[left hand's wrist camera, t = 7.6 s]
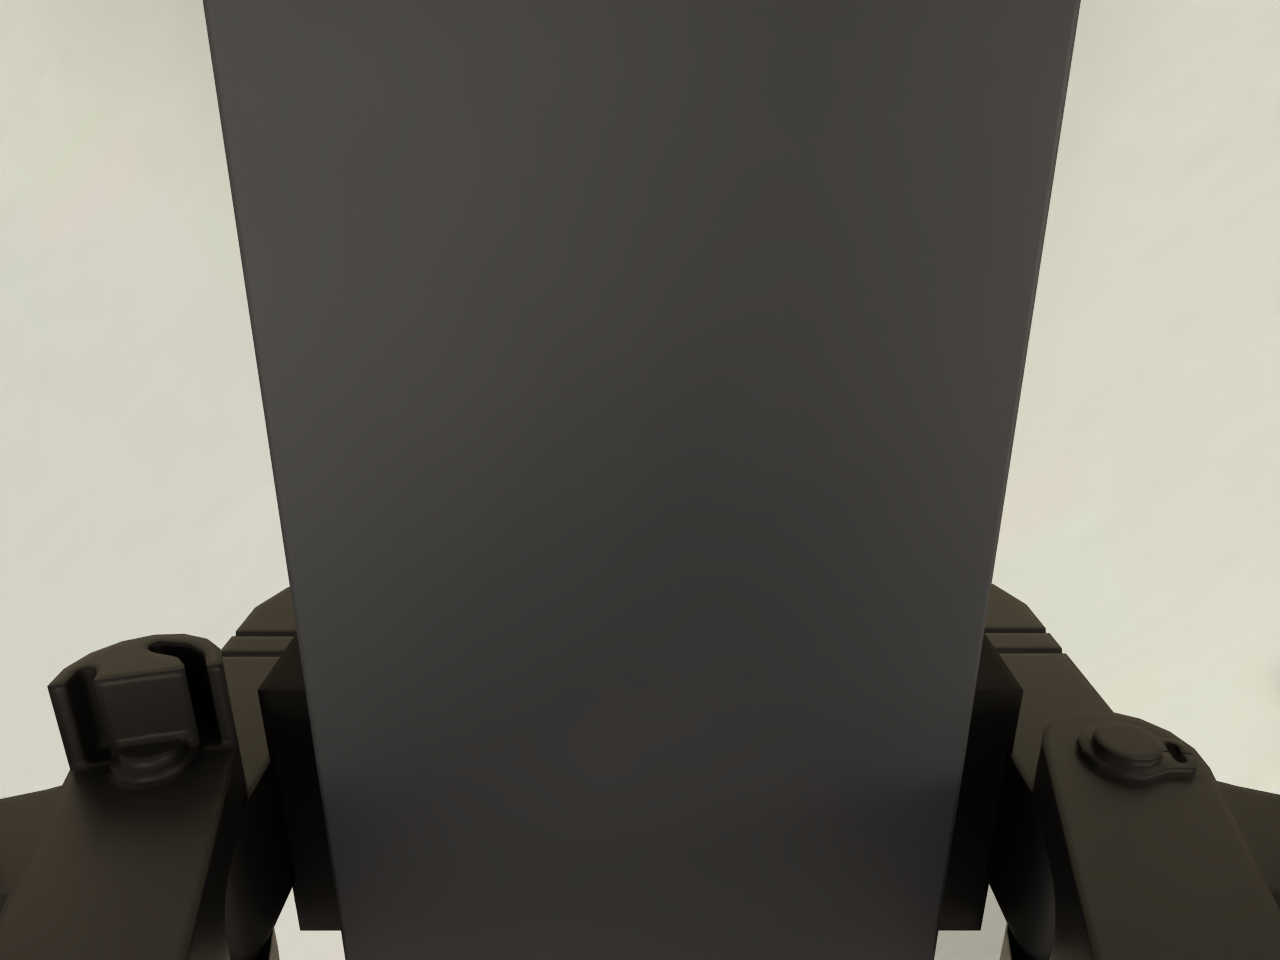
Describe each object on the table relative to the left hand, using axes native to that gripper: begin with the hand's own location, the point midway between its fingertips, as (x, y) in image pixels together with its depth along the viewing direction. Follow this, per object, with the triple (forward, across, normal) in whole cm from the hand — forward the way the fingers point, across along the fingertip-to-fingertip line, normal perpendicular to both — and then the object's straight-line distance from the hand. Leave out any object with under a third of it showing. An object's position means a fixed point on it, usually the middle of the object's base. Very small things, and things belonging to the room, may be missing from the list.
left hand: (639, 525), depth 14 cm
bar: (0, 0, -33) cm, 33 cm away
